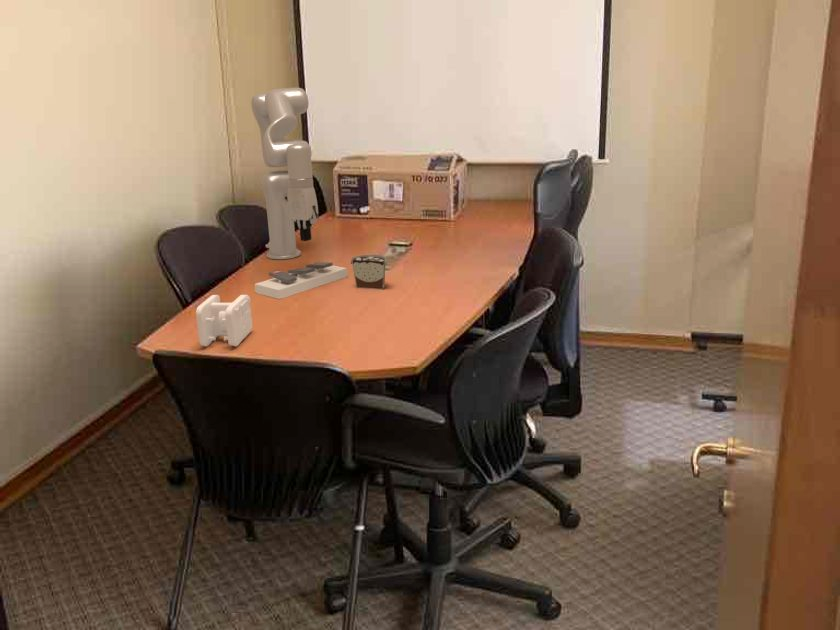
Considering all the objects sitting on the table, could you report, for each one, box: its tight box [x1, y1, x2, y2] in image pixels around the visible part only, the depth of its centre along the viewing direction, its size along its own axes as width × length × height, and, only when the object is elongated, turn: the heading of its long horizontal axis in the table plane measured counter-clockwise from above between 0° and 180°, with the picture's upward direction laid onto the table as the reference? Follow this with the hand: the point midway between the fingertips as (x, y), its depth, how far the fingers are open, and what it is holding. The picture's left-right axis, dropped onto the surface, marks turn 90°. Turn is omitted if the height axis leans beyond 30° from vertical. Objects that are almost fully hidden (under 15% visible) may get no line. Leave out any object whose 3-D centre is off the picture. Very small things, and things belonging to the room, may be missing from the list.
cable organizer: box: [195, 294, 253, 348], centre depth 240 cm, size 15×11×12 cm
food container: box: [350, 253, 388, 291], centre depth 283 cm, size 12×6×10 cm, turn 71°
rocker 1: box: [268, 269, 297, 283], centre depth 283 cm, size 9×4×1 cm, turn 49°
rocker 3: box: [305, 261, 334, 268], centre depth 294 cm, size 9×4×1 cm, turn 49°
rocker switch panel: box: [254, 264, 348, 300], centre depth 289 cm, size 12×30×4 cm, turn 139°
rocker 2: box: [287, 267, 315, 274], centre depth 288 cm, size 9×4×1 cm, turn 49°
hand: (306, 240), depth 282 cm, fingers closed
